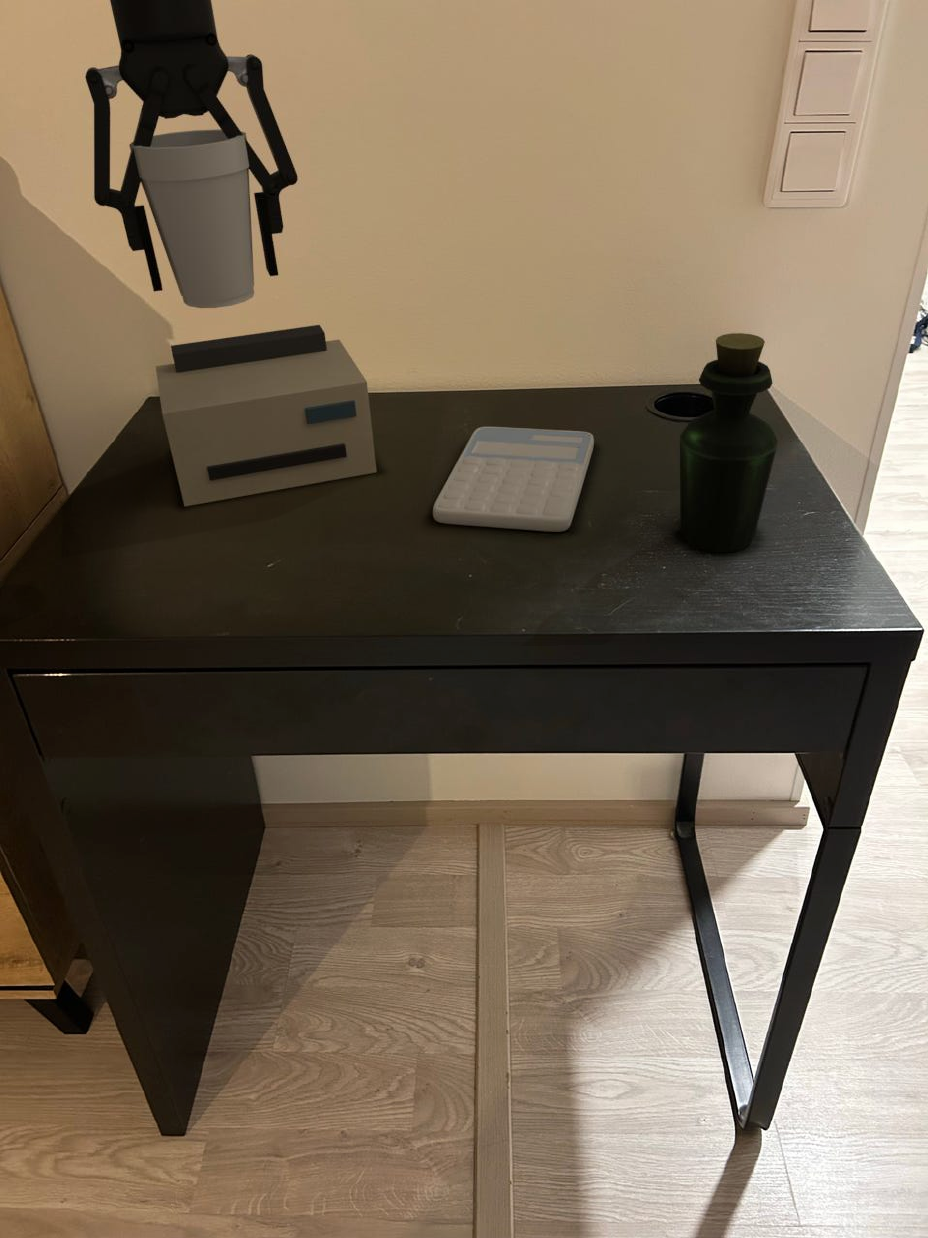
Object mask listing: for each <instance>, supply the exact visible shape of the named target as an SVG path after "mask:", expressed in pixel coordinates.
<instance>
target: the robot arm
mask: <svg viewBox="0 0 928 1238" xmlns="http://www.w3.org/2000/svg"><path fill="white" fill-rule="evenodd" d="M109 3H110V7H111V12H112V15H113V20H114V25H115V30H116V33H117V38H118V42H119V43H118V44H119V47H120V58H119V61H118V65H112V66H107V67H103V68H102V67H101V68H97V67H89V68H88V69H87V70H86V72H85V82H86V84H87V88H88V91H89V94H90V97H91V100H92V103H93V194H94V195H93V199H94V201H95V203H96V204H97V205H98V206H99V207H107V208H111V209H112V208H113V209H115V210H117V212H119V214H120V216H121V218H122V223H123V227H124V231H125V235H126V239H127V243H128V247H129V248H130V249H131V251H132V252H137V251H143V252H144V255H145V259H146V264H147V268H148V273H149V276H150V282H151V286H152V290H153V292H163V284H162V279H161V273H160V270H159V265H158V262H157V261H158V260H157V257H156V252H155V247H154V243H153V239H152V235H151V230H150V226H149V222H148V218H147V212H146V209H145V205H136V201H137V198H138V193H139V189H140V187H141V184H142V183H141V179H142V178H140V176H139V171H138V167H137V162H136V158H135V154H134V149H133V150H132V152H131V151H130V152H129V157H128V161H127V164H126V167H125V170H124V171H125V172H124V175H123V179H122V183H121V187H120V190H118V189H115V188H111V102H110V101H111V100H112V99H114V98H116V96H117V94H118V85H119V83H120V82H122V81H123V82H124V83H125V84H126V85H127V86H128V87H129V88H130V89H131V90H132V92H133V93H134V94H135V95H136V96H137V97H138V98H139V100H141V101H142V105H141V109H140V113H139V118H138V122H137V127H136V130H135V133H134V137H133V141H132V142H133V145H134V146H143V147H150V146H151V142H152V139H153V136H155V131H156V128H157V124H158V121H159V117H161V118H164V120H167V119H168V120H169V119H175V118H178V117H181V116H183V115H187V116H191V117H200V116H204V114H206V113H209V114H210V116H211V117H212V118H213V120H214V121H215V123H216V124H217V126H218V127H219V129H221V130H222V131H223V132H224V134H225V135H226V137H227V138H228V139H231V138H234V137H236V136H241V135H243V134H242V133H241V132H242V131H241V129H240V128H239V127H238V126H237V124H236V122H235V121H234V119H233V118H232V117H231V115H230V113H229V112H228V111H227V109H226V108H225V106H224V104H223V103H222V102H221V101H220V99H219V98H218V94H219V93H220V90H221V88H222V86H223V83H224V82H225V79H226V77H227V74H228V73H229V72H231V73H232V74H234V76H235V79H236V82H237V84H239V85H240V86H242V87H245V88H246V92H247V95H248V97H249V100H250V103H251V105H252V108H253V110H254V113H255V115H256V118H257V121H258V123H259V125H260V128H261V130H262V133H263V136H264V138H265V141H266V143H267V145H268V148H269V150H270V153H271V156H272V157H273V160H274V163H275V165H276V168H277V170H276V171H274V172H273V173H271V174H270V171H269V170H268V169H267V167H266V166H265V165H264V163H263V162H262V160H261V159H260V157H259V156H258V154H257V153H256V152H255V150H254V149H253V147H252V146H251V144H250V143H249V142H248V139H247V140H246V139H245V143H246V150H247V156H248V162H249V167H248V168H249V171H250V173H251V174H252V175H253V177H254V179H255V180H256V181H257V183H258V184H259V185H260V187H261V191H258V192H253V197H254V202H255V209H256V215H257V220H258V227H259V232H260V239H261V245H262V251H263V256H264V262H265V269H266V271H267V273H268V275H269V277H276V276H277V277H278V276H279V269H278V264H277V263H278V262H277V257H276V250H275V244H274V239H273V238H274V237H273V235H276V234H282V233H283V231H284V221H283V216H282V215H283V214H282V208H281V202H280V194H281V192H282V191H283V190H284V189H286V188H288V187H289V186H294V185H296V184H297V183H298V180H299V179H298V174H297V171H296V168H295V165H294V163H293V160H292V158H291V155H290V152H289V151H288V148H287V145H286V142H285V140H284V137H283V135H282V132H281V130H280V127H279V123H278V122H277V119H276V117H275V113H274V112H273V109H272V106H271V104H270V102H269V98H268V96H267V94H266V91H265V88H264V87H265V85H264V70H263V63H262V61H261V59H260V58H259V57H258V56H256V55H254V54H247V55H246V56H227V55H226V53H225V52H224V50H223V49H222V47H221V45H220V42H219V38H218V33H217V27H216V21H215V20H216V19H215V15H214V8H213V3H212V0H109Z"/></svg>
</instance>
